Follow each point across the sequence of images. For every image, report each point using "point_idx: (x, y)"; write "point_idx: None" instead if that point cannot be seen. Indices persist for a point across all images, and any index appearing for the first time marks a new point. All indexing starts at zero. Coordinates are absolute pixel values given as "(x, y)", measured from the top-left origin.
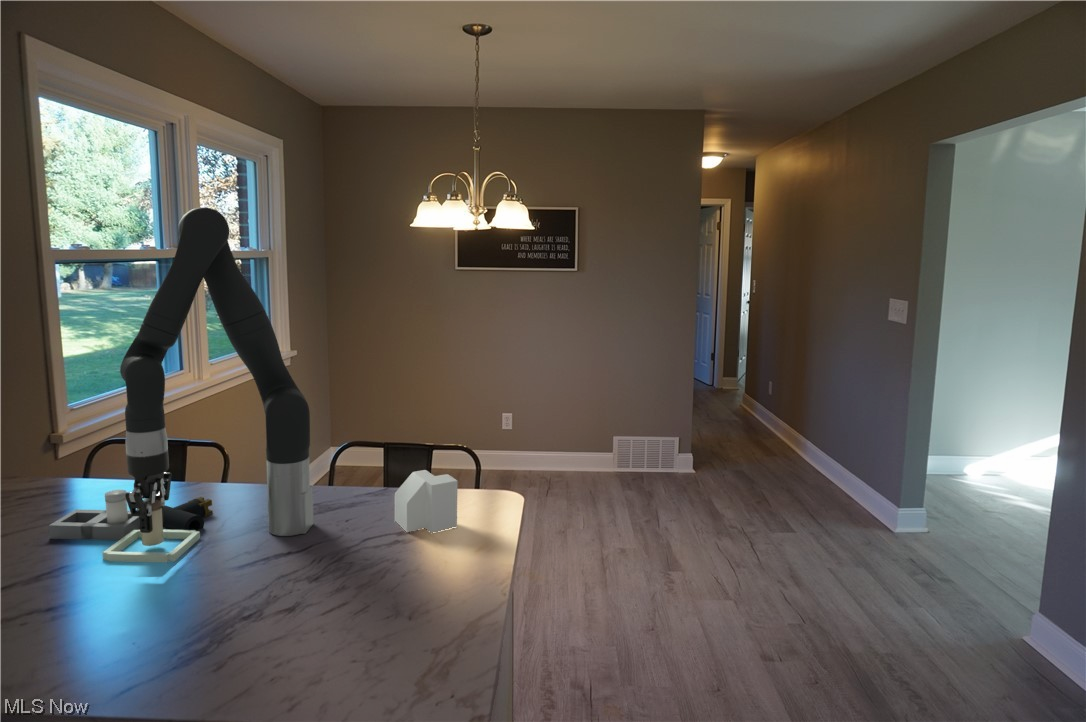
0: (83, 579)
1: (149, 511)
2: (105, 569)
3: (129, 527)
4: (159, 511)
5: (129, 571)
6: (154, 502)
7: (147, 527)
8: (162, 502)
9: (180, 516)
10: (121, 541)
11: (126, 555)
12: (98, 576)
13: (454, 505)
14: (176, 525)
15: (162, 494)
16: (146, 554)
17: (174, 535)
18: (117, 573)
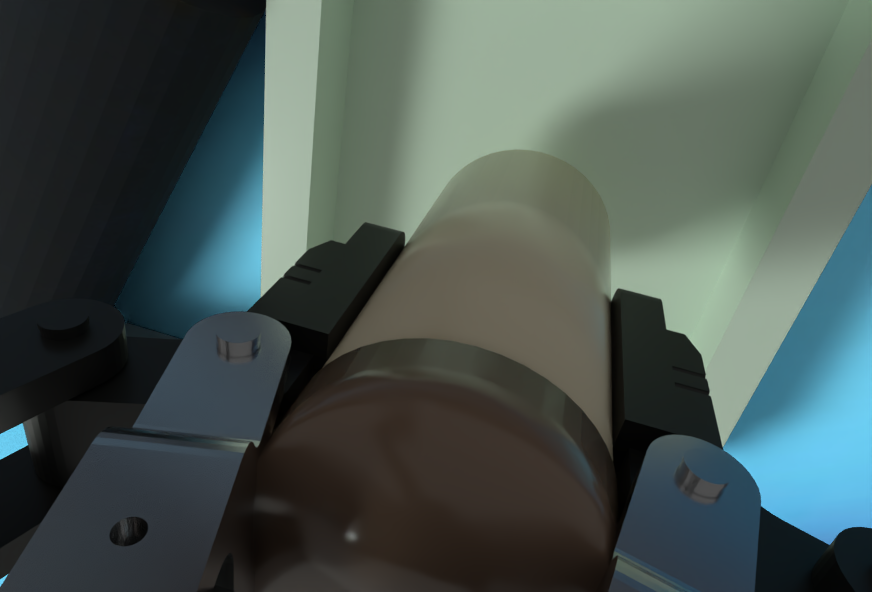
0: (869, 517)
1: (723, 508)
2: (747, 435)
3: None
4: (513, 335)
5: (859, 292)
6: (613, 567)
7: (684, 360)
8: (252, 366)
9: (89, 104)
10: None
11: (755, 376)
12: (858, 455)
13: None
14: (188, 117)
15: (211, 498)
16: (837, 227)
17: (329, 93)
18: (860, 361)
